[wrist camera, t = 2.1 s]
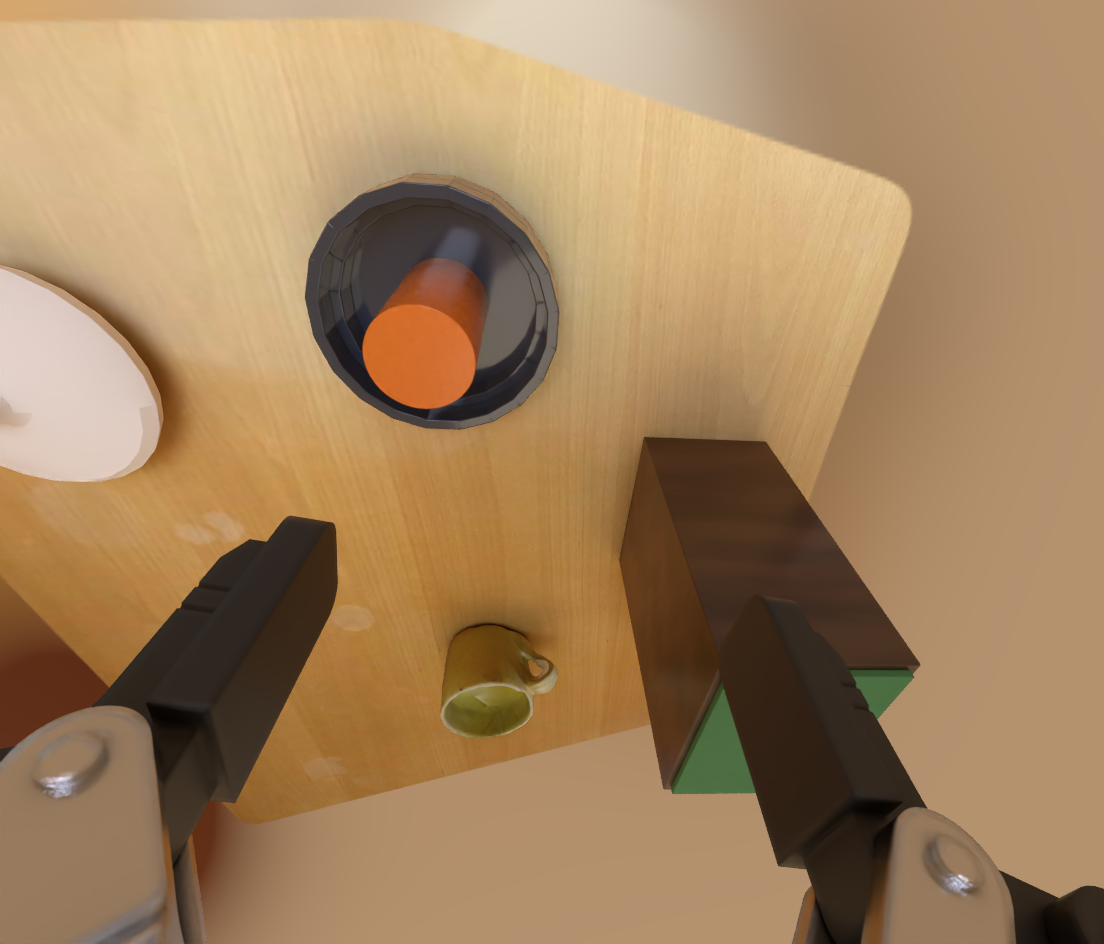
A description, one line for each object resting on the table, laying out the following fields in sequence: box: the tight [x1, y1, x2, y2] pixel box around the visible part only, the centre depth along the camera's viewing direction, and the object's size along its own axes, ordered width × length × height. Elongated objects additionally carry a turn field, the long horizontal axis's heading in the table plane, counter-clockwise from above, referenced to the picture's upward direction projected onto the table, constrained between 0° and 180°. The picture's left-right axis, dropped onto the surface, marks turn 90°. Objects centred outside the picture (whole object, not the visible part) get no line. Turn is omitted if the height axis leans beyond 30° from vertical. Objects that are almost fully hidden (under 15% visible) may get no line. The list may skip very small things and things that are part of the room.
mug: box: [441, 625, 558, 738], centre depth 52 cm, size 12×10×10 cm
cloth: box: [671, 670, 914, 794], centre depth 28 cm, size 13×9×1 cm
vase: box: [0, 265, 164, 482], centre depth 32 cm, size 16×16×7 cm
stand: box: [619, 437, 920, 789], centre depth 36 cm, size 14×10×20 cm
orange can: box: [363, 258, 488, 409], centre depth 29 cm, size 6×6×9 cm
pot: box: [305, 173, 559, 430], centre depth 31 cm, size 14×14×4 cm
